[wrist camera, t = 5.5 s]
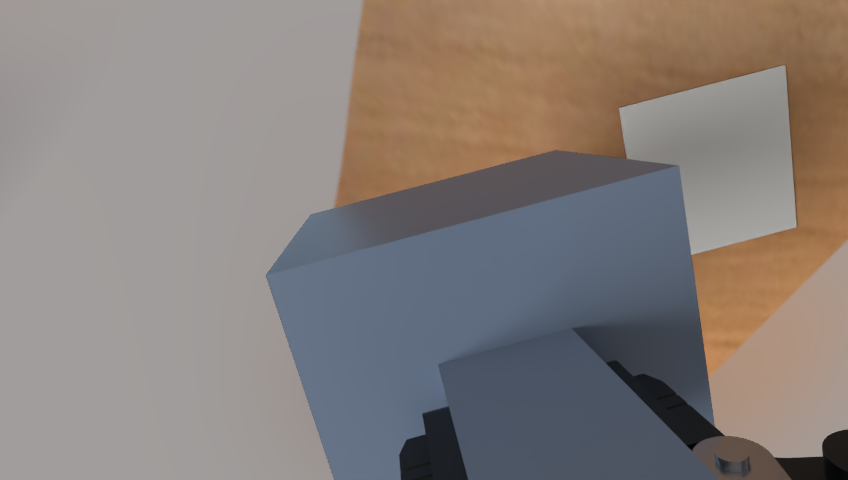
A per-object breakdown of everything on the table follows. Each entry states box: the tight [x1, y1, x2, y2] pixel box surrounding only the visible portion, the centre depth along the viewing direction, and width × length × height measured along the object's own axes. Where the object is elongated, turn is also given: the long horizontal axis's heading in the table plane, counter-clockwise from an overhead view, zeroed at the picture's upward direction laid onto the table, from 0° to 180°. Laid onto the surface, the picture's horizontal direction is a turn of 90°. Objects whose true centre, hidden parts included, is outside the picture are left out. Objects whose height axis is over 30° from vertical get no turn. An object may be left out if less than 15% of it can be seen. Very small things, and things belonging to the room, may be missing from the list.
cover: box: [266, 150, 720, 480], centre depth 15 cm, size 10×10×15 cm
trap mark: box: [619, 65, 797, 255], centre depth 38 cm, size 12×12×1 cm
